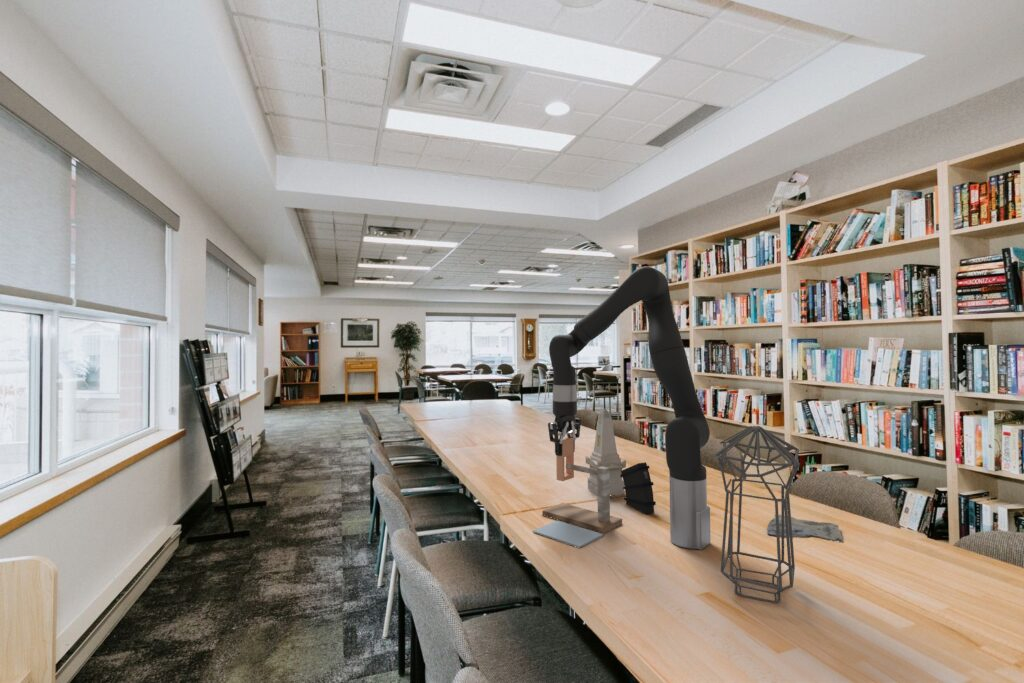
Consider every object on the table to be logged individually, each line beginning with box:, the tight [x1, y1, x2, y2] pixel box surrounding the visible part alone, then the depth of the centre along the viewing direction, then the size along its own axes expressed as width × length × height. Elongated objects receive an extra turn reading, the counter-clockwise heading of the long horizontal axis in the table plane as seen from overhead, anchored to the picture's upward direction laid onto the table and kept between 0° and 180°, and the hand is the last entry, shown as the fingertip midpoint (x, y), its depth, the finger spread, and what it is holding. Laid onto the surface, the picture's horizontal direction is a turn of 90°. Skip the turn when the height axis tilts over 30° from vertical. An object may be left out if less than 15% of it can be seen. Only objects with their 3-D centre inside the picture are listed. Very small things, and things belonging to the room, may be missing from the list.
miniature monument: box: [585, 407, 627, 496], centre depth 174 cm, size 10×10×30 cm
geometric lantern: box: [712, 425, 801, 604], centre depth 102 cm, size 16×16×35 cm
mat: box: [532, 520, 604, 549], centre depth 135 cm, size 16×11×1 cm
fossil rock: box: [766, 514, 844, 543], centre depth 135 cm, size 18×15×2 cm
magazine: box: [620, 461, 657, 515], centre depth 156 cm, size 4×13×15 cm, turn 23°
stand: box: [541, 463, 623, 534], centre depth 146 cm, size 22×10×17 cm, turn 46°
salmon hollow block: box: [555, 436, 575, 482], centre depth 150 cm, size 2×6×12 cm, turn 136°
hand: (565, 453), depth 151 cm, fingers closed on salmon hollow block, 5 cm apart
